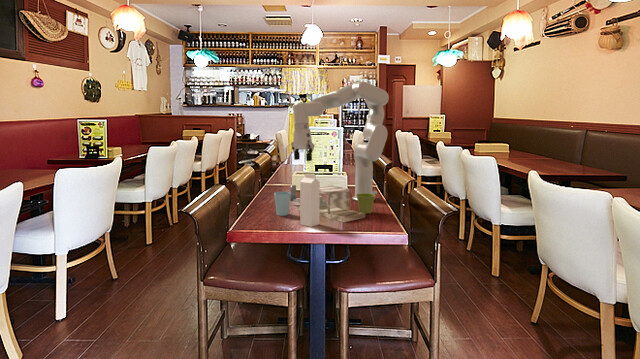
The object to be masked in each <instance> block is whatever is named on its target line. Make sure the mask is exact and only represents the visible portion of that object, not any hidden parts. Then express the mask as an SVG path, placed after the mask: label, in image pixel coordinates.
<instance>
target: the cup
mask: <svg viewBox="0 0 640 359" xmlns="http://www.w3.org/2000/svg"><path fill="white" fill-rule="evenodd" d="M290 194H291V193H290V191H275V192H274V193H273V195H274V202H275V211H276V215H277V216H281V217H285V216H289V211H290V210H289V209H290V202H291V201H290Z"/></svg>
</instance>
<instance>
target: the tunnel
mask: <svg viewBox="0 0 640 359" xmlns="http://www.w3.org/2000/svg"><path fill="white" fill-rule="evenodd" d="M350 191H351V190H350V188H347V187H341V186H336V185H328V186H322V187H321V186H320V194H324V195H327V206H323V207H319V217H321V218H326V219H329V220H334V221H337V222H342V223H347V222H351V221H356V220H360V219H365V218H366V214H365V213H362V212H359V211H356V210H353V209H352V210H351V209H350V200H351V199H350V198H351V196H350V194H351V192H350ZM297 211H298V212H300V205H299V206H297Z"/></svg>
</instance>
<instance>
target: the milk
mask: <svg viewBox="0 0 640 359" xmlns="http://www.w3.org/2000/svg"><path fill="white" fill-rule="evenodd" d="M320 183H321V182H320V181H319V180H318V179H317V176H316V174H311V173H304V176H303V178H302V179H301V181H300V183H299V184H300V187H299V188H300V189H299V190H300V192H299V193H300V195H299V198H300V203H299V204H300V205H299V206H300V211H299V212H300V213H299V214H300V215H299V222H300V223H299V225H300V226H304V227H310V228H312V227H316V226H319V225H320V216H319V202H320V196H321V195H320V194H321V193H320V187H321V186H320V185H321V184H320Z"/></svg>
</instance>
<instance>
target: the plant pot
mask: <svg viewBox="0 0 640 359" xmlns="http://www.w3.org/2000/svg"><path fill="white" fill-rule="evenodd" d="M376 195H377V194H375V195H374V194H369V193H360V194H356V196H357V199H358V201H357V205H358V212H362V213H365V215H366V214H371V213H372V212H373V206H374V201H375V200H374V198H375V199H376Z"/></svg>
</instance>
